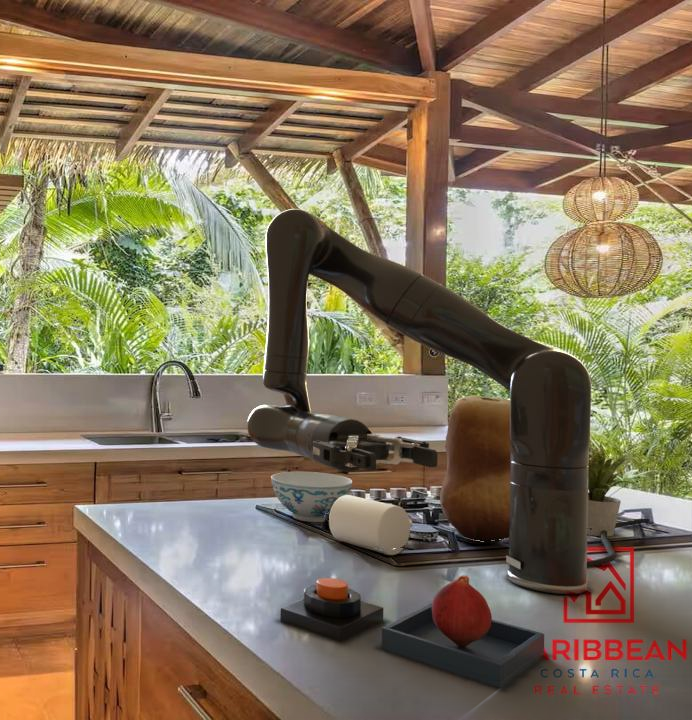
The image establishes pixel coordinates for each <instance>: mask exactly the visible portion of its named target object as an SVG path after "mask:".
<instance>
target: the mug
mask: <svg viewBox="0 0 692 720" xmlns="http://www.w3.org/2000/svg"><path fill="white" fill-rule="evenodd" d="M328 527H329V530H330V533H331V534H332V536H333V537H334V538H335V539H336V540H338V541H340V542H343V543H346V544H349V545H353V546H355V547H356V546H357V547H360V548H364V549H366V550H370V551H373V552H377V553H380V554H383V555H386V556H395V555H398V554H399V553H401V552H402V551H403V550H404V548H400V547H402V546H404V545H405V546H406V545H407V544H408V542H409V538H410V534H411V527H413V520H411V518H410V517H409V514H408V512H407V511H406V510H405V509H404V508H403V507H402V506H399V505H396V504H391V503H387V502H381V501H377V500H373V499H369V498H364V497H360V496H354V495H352V494H349V495H344V496H341V497H340V498H338V499H337V500H336V501H335V503H334V504H333V506H332V508H331V511H330V514H329V520H328ZM366 546H367V547H366ZM370 547H372V548H370ZM373 548H377V549H393V548H399V549H394V550H389V551H380V550H376V549H373Z"/></svg>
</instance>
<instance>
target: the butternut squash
mask: <svg viewBox="0 0 692 720" xmlns="http://www.w3.org/2000/svg"><path fill="white" fill-rule="evenodd" d="M444 445H445V446H444V449H445V452H446V458H447V462H446V463H447V467H446V472H445V475H444V478H443V482H442V485H441V488H440V490H439V503H440V508H441V511H442V513H443V515H444V517H445V519H446V520H447V521H448V522H449V523H450V526H452V527H453V528H454V529H455V530H456V531H457V532H458V533H459V535H460V536H461V537H462V538H463V539H464V540H465V541H467V543H469V544H487V543H488V544H492V543H499V542H501V541H502V540H499V539H503V540H505V539H504V538H506V539H509V528H510V461H511V460H510V399H507V398H500V397H499V398H498V397H487V396H481V395H467V396H463V397H461V398H459V399H458V400H457V401H455V403H454V404H453V406H452V408H451V410H450V414H449V419H448V423H447V431H446V436H445V444H444ZM463 536H464V537H467V538H470V539H474V540H480V541H484V542H480V541H473V540H470V539H466V538H464V537H463ZM491 540H495V541H491Z"/></svg>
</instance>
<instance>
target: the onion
mask: <svg viewBox="0 0 692 720" xmlns="http://www.w3.org/2000/svg"><path fill="white" fill-rule="evenodd" d="M431 603H432V616H433V621H434V623H435V625H436V627H437V628H438V629H439V630H440V631H441V632H442V633H443V634H444V635H445V636H446V637H448V638H449V639H450V640H452V641H453V642H454V643H455V644H456V645H458V646H460V647H467V646H468V645H469V644H471V643H472V642H474V641H476V640H478V639H480V638H481V637H483V636H484V635H485V634H486V633H487V632H488V630H489V628H490V627H491V621H492V620H493V616H492V611H491V609H490V607H489V604H488V602H487V600H486V598H485V597H484V596H483V594H482V593H481V592H480V591H479V590H477V589H476V588H475V587H473V586H472V585H471V584H470V579H469V575H465V574H463V575H459V576H458V577H457V578H456V579H454V580H453V581H451V582H449V583H447V584H446V585H444V586H443V587H441V588H440V589H439V590H438V591H437V593H436V594H435V596H434V597H433V600H432V602H431Z"/></svg>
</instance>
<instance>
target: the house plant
mask: <svg viewBox="0 0 692 720" xmlns="http://www.w3.org/2000/svg"><path fill="white" fill-rule="evenodd" d="M589 449H590V451H591V457H590V459H589V465H588V526H589V527H591V528H592V530H590V529H587V536H589V535H590V536H595V537H601V532H602V531H604V530H605V531H607V537H613V536H614V534H615V530H616V528H615V525H616V522H618V521H617V520H618V516H619V511H620V508H621V503H622V501H621V499H620V498H616V497H613V496H612V495H614V494H615V493H616V492H618V491H620V490H621V489H623V488H624V487H626V486H627V485H629V484H633V485H635V486H637V487H639V485H638V484H637V483H635V482H645V480H642V479H636V480H632V481H627V480H619V479H616V478H617V477H618V476H619V475H622V474H623V472H621V471H623V470H624V469H625V468H627V467H630V466H634V465H635V466H636V465H637V466H638V465H640V466H641V465H642V464H641V463H629V464H627V465H625V466H624V467H622V468H621V469H620V470H619V471H618V472H617V473H615V472H616V471H617V470H618V469H619V468H620V467H621V466H622V465H623V464H625V463H626V462H628V461H630V460H633V459H637V458H642V457H644V458H645V457H647V458H648V455H635V456H631V455H634V454H635V452H632V453H627V454H623V455H620V456H619V457H614V458H613V457H611V458H608V459H606V453H605V449H604V446H603V445H602V444H601V443H599V450H597V448H595V449H594V448H593V446H592V445H591V444H590V447H589ZM629 456H631V457H629ZM627 457H629V458H627ZM614 459H615V460H614ZM613 460H614V461H613ZM621 483H626V484H624V485H623V486H621V487H619V488H618V489H617V490H616V491H614V492H613V493H612V494H610V495H609V496H607V494H608V492H609V491H610V490H611V488H614V487H616V486H617V485H618V484H621Z"/></svg>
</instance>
